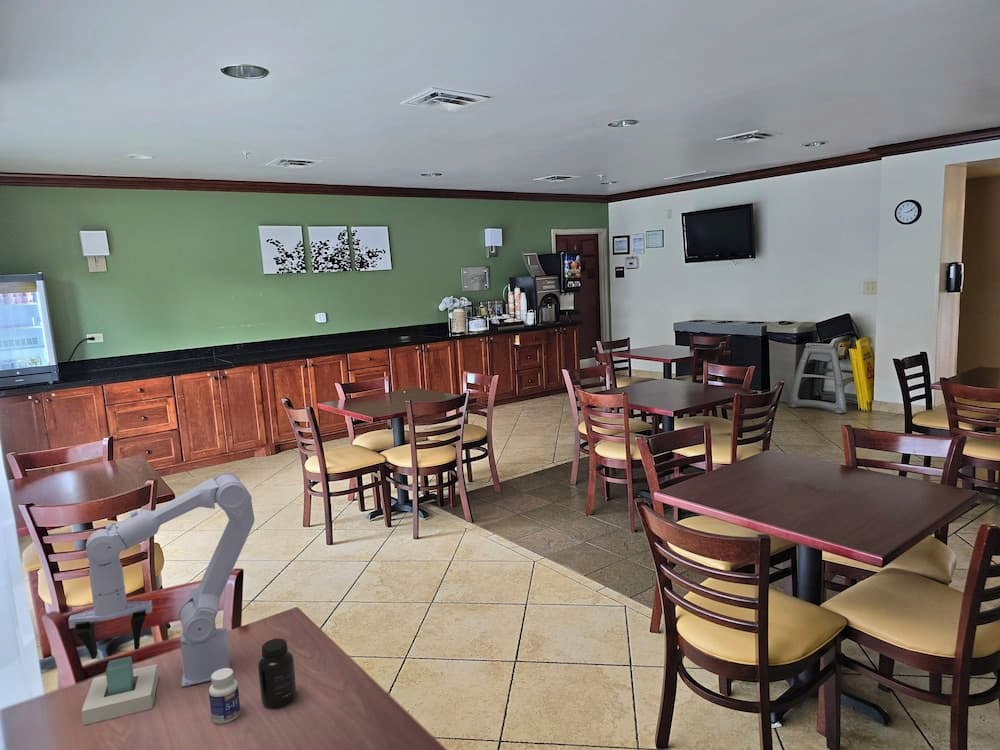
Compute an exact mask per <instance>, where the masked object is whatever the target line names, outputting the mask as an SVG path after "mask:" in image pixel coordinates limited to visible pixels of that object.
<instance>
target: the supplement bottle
mask: <svg viewBox="0 0 1000 750" xmlns="http://www.w3.org/2000/svg"><path fill="white" fill-rule="evenodd" d="M294 661H295V660H294V656H293V654H292V653H291V652H290V651H289V648H288V644H287V640H285V639H284V638H280V637H279V638H273V639H269V640H267V641H266V642H264V643H263V644H262V645H261V658H260V659H259V660H258V665H257V669H258V678H259V679H258V680H259V687H260V688H259V689H260V697H261V704H262V705H263V706H264V707H265V708H267V709H273V710H274V709H280V708H283V707H287V705H289V704H291V703H292V702H294V700H295V698H296V697H297V684H296V672H295V662H294Z"/></svg>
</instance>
